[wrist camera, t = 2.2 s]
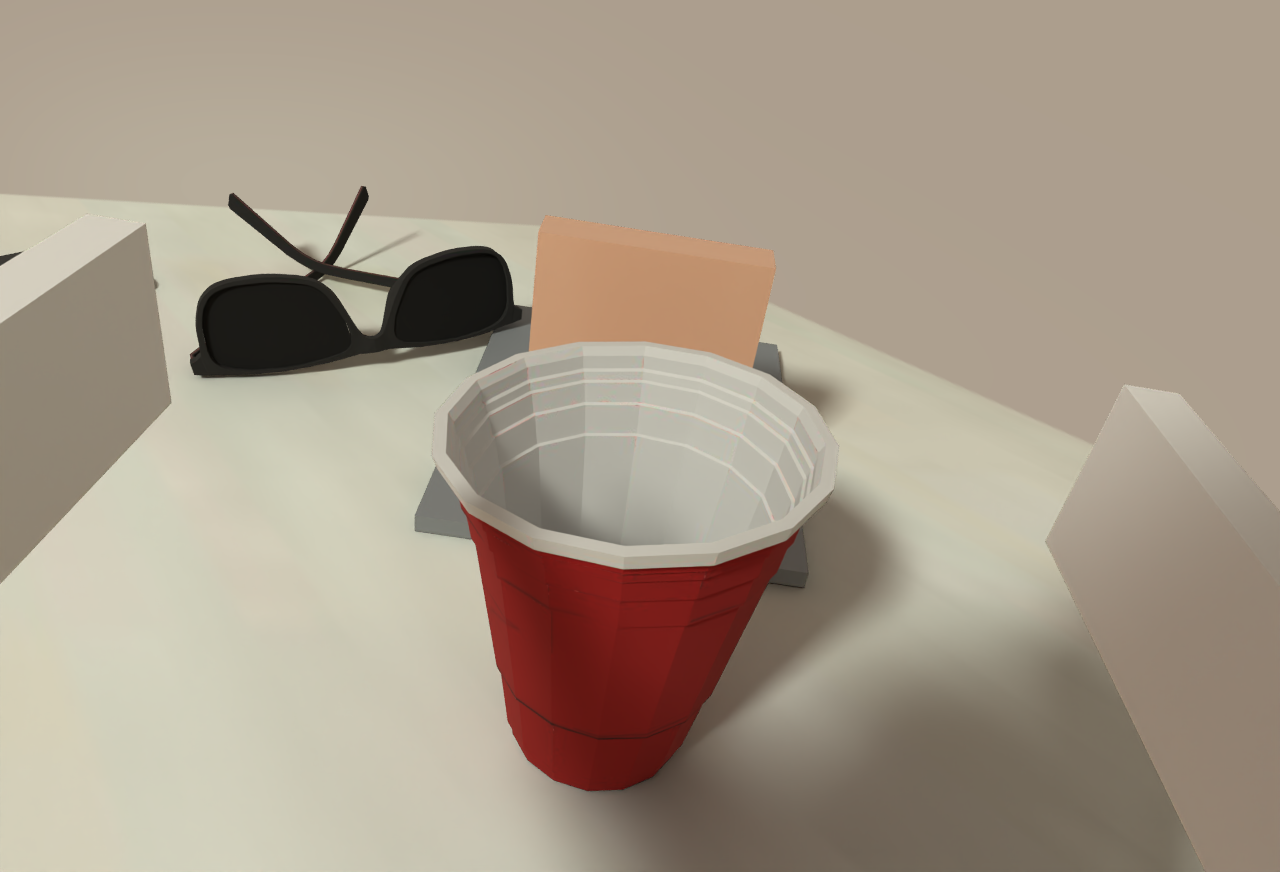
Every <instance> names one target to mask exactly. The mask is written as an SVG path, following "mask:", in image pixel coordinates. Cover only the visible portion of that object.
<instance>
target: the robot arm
mask: <svg viewBox="0 0 1280 872" xmlns="http://www.w3.org/2000/svg"><path fill="white" fill-rule="evenodd" d="M170 404H171V396H170V389H169V382H168V375H167V368H166V361H165V354H164V347H163V340H162V333H161V326H160V319H159V312H158V305H157V298H156V291H155V284H154V277H153V271H152V264H151V257H150V250H149V243H148V236H147V229H146V223H141V222H135V221H129V220H123V219H116V218H110V217H104V216H98V215H92V214H85V215H83V216H82V217H80V218H78V219H77V220H75V221H73V222H72V223H70V224H68V225H67V226H65V227H63V228H62V229H60V230H59V231H57V232H55V233H54V234H52V235H50V236H49V237H47V238H45V239H44V240H42V241H40V242H39V243H37V244H35V245H34V246H32V247H31V248H29V249H27V250H26V251H24V252H22V253H21V254H19V255H17V256H16V257H14V258H12V259H11V260H9V261H7V262H6V263H4V264H3V265H1V266H0V584H1V583H2V582H3V581H4V579H5V578H6V577H7V576H8V575H9V574H10V573H11V572H12V571H13V570H14V569H15V568H16V567H17V566H18V565H19V564H20V563H21V561H22V560H23V559H24V558H25V557H26V556H27V555H28V554H29V553H30V552H31V551H32V550H33V549H34V548H35V547H36V546H37V545H38V543H39V542H40V541H41V540H42V539H43V538H44V537H45V536H46V535H47V534H48V533H49V532H50V531H51V530H52V529H53V528H54V527H55V526H56V524H57V523H58V522H59V521H60V520H61V519H62V518H63V517H64V516H65V515H66V514H67V513H68V512H69V511H70V510H71V509H72V508H73V506H74V505H75V504H76V503H77V502H78V501H79V500H80V499H81V498H82V497H83V496H84V495H85V494H86V493H87V492H88V491H89V490H90V488H91V487H92V486H93V485H94V484H95V483H96V482H97V481H98V480H99V479H100V478H101V477H102V476H103V475H104V474H105V473H106V472H107V470H108V469H109V468H110V467H111V466H112V465H113V464H114V463H115V462H116V461H117V460H118V459H119V458H120V457H121V456H122V455H123V454H124V452H125V451H126V450H127V449H128V448H129V447H130V446H131V445H132V444H133V443H134V442H135V441H136V440H137V439H138V438H139V437H140V436H141V435H142V433H143V432H144V431H145V430H146V429H147V428H148V427H149V426H150V425H151V424H152V423H153V422H154V421H155V420H156V419H157V418H158V417H159V415H160V414H161V413H162V412H163V411H164V410H165V409H166V408H167V407H168V406H169V405H170ZM1045 542H1046V544H1047V546H1048V548H1049V550H1050V552H1051V554H1052V556H1053V558H1054V560H1055V563H1056V565H1057V567H1058V569H1059V571H1060V573H1061V575H1062V577H1063V579H1064V581H1065V583H1066V585H1067V587H1068V589H1069V591H1070V593H1071V596H1072V598H1073V600H1074V602H1075V604H1076V606H1077V608H1078V610H1079V612H1080V614H1081V616H1082V618H1083V620H1084V622H1085V624H1086V627H1087V629H1088V631H1089V633H1090V635H1091V637H1092V639H1093V641H1094V643H1095V645H1096V647H1097V649H1098V651H1099V653H1100V655H1101V658H1102V660H1103V662H1104V664H1105V666H1106V668H1107V670H1108V672H1109V674H1110V676H1111V678H1112V680H1113V682H1114V684H1115V686H1116V689H1117V691H1118V693H1119V695H1120V697H1121V699H1122V701H1123V703H1124V705H1125V707H1126V709H1127V711H1128V713H1129V715H1130V717H1131V720H1132V722H1133V724H1134V726H1135V728H1136V730H1137V732H1138V734H1139V736H1140V738H1141V740H1142V742H1143V744H1144V746H1145V748H1146V751H1147V753H1148V755H1149V757H1150V759H1151V761H1152V763H1153V765H1154V767H1155V769H1156V771H1157V773H1158V775H1159V777H1160V779H1161V782H1162V784H1163V786H1164V788H1165V790H1166V792H1167V794H1168V796H1169V798H1170V800H1171V802H1172V804H1173V806H1174V808H1175V810H1176V813H1177V815H1178V817H1179V819H1180V821H1181V823H1182V825H1183V827H1184V829H1185V831H1186V833H1187V835H1188V837H1189V839H1190V841H1191V843H1192V846H1193V848H1194V850H1195V852H1196V854H1197V856H1198V858H1199V860H1200V862H1201V864H1202V866H1203V868H1204V870H1205V872H1280V511H1279V510H1278V509H1277V507H1276V506H1275V505H1274V504H1273V503H1272V502H1271V500H1270V499H1269V498H1268V497H1267V496H1266V495H1265V494H1264V492H1263V491H1262V490H1261V489H1260V488H1259V486H1257V484H1256V483H1255V482H1254V481H1253V480H1252V478H1251V477H1250V476H1249V475H1248V474H1247V472H1246V471H1245V470H1244V469H1243V468H1242V466H1241V465H1240V464H1239V463H1238V462H1237V461H1236V460H1235V458H1234V457H1233V456H1232V455H1231V454H1230V452H1229V451H1228V450H1227V449H1226V448H1225V447H1224V445H1223V444H1222V443H1221V442H1220V441H1219V440H1218V438H1217V437H1216V436H1215V435H1214V434H1213V433H1212V431H1211V430H1210V429H1209V428H1208V427H1207V426H1206V424H1205V423H1204V422H1203V421H1202V420H1201V419H1200V417H1199V416H1198V415H1197V414H1196V413H1195V412H1194V410H1193V409H1192V408H1191V407H1190V406H1189V405H1188V403H1187V402H1186V401H1185V400H1184V399H1183V397H1182V396H1181V395H1180V394H1178V393H1172V392H1166V391H1160V390H1154V389H1148V388H1142V387H1136V386H1129V385H1124V387H1123V388H1122V390H1121V392H1120V394H1119V396H1118V398H1117V400H1116V402H1115V404H1114V406H1113V408H1112V410H1111V412H1110V414H1109V416H1108V418H1107V420H1106V422H1105V424H1104V426H1103V428H1102V430H1101V432H1100V434H1099V436H1098V438H1097V440H1096V442H1095V444H1094V446H1093V448H1092V450H1091V452H1090V454H1089V456H1088V458H1087V460H1086V462H1085V463H1084V465H1083V467H1082V469H1081V471H1080V473H1079V475H1078V477H1077V479H1076V481H1075V483H1074V485H1073V487H1072V489H1071V491H1070V493H1069V495H1068V497H1067V499H1066V501H1065V503H1064V505H1063V507H1062V509H1061V511H1060V513H1059V515H1058V517H1057V519H1056V521H1055V523H1054V525H1053V527H1052V529H1051V531H1050V533H1049V535H1048V537H1047V539H1046V541H1045Z"/></svg>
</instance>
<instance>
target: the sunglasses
mask: <svg viewBox="0 0 1280 872" xmlns="http://www.w3.org/2000/svg"><path fill="white" fill-rule="evenodd" d="M368 197H369V196H368V193H367V189H366V187H364V186H361V188H360V190H359V192H358V194H357V196H356V198H355V201H354V203H353V205H352V207H351V209H350V211H349V213H348V215H347V218H346V220H345V222H344V224H343V226H342V228H341V230H340V233H339V235H338V237H337V239H336V241H335V243H334V245H333V247H332V249H331V250H330V252H329V254H328V255H327V257H326V258H325V259H324V261H323V262H320V261H317V260H315V259H313V258H311V257H309V256H307V255H306V254H304V253H302V252H301V251H300V250H298V249H297V248H296V247H294V246H293V245H292V244H290V243H289V242H288V241H287V240H286V239H285V238H284V237H282V236H281V235H280V234H279V233H278V232H277V231H276V230H275V229H273V228H272V227H271V226H270V225H269V224H268V223H267V222H266V221H264V220H263V219H262V218H261V217H260V216H259V215H258V214H257V213H255V212H254V211H253V210H252V209H251V208H250V207H248V205H246V204H245V203H244V202H243V201H242V200H241V199H240V198H239V197H237V196H236V195H235V194H234V193H232V194H230V195H229V204H228V206H229V208H230V209H231V210H232V211H233V212H235V213H236V214H237V215H238V216H240V217H241V218H242V219H243V220H245V221H246V222H247V223H248V224H250V225H251V226H252V227H253V228H254V229H256V230H257V231H258V232H259V233H261V234H262V235H263V236H264V237H266V238H267V239H268V240H269V241H271V242H272V243H273V244H274V245H276V246H277V247H278V248H279V249H280V250H282V251H283V252H284V253H285V254H287V255H288V256H290V257H291V258H293V259H294V260H296V261H297V262H299V263H300V264H302V265H304V266H306V267H308V268H310V269H311V270H313V271H311V272H310V273H309V274H307V275H306V276H299V275H287V274H256V275H248V276H241V277H234V278H229V279H225V280H222V281H219V282H216V283H214V284H212V285H211V286H209V287H208V288H207V289H206V290H205V291H204V292H203V294H202V295H201V297H200V299H199V301H198V305H197V311H196V332H197V337H198V342H199V348H197V349H196V350H195V351H194V352H192V353H191V354H190V357H191V359H190V364H191V367H192V370H193V373H194V375H246V374H262V373H272V372H282V371H288V370H294V369H300V368H306V367H311V366H316V365H320V364H325V363H330V362H333V361H337V360H340V359H344V358H347V357H351V356H354V355H358V354H364V353H374V352H379V351H383V350H387V349H393V348H410V347H423V346H430V345H436V344H443V343H448V342H454V341H459V340H463V339H466V338H470V337H474V336H478V335H481V334H484V333H487V332H490V331H492V330H495V329H498V328H500V327H503V326H506V325H508V324H511V323H514V322H516V321H519V320H521V319H522V309H521V308H519V307H518V306H515V305H514V301H513V286H512V279H511V275H510V272H509V269H508V266H507V263H506V261H505V260H504V258H503V257H502V256H501V255H500V254H498V253H497V252H495V251H494V250H493V249H491V248H489V247H484V246H470V247H461V248H454V249H449V250H446V251H442V252H439V253H436V254H434V255H431V256H428V257H425V258H423V259H421V260H419V261H416V262H415V263H413V264H412V265H410V266H409V267H408V268H407V269H406V270H405V271H404V273H403V274H402V275H401V276H400V277H399V278H396V277H391V276H385V275H379V274H374V273H368V272H363V271H357V270H352V269H346V268H342V267H338V266H334V265H333V264H334V263H335V261H336V260H337V258H338V257H339V255H340V254H341V252H342V250H343V248H344V246H345V244H346V242H347V240H348V238H349V236H350V234H351V232H352V230H353V228H354V227H355V225H356V223H357V221H358V219H359V217H360V215H361V213H362V211H363V209H364V207H365V205H366V203H367V201H368ZM324 274H328V275H332V276H336V277H341V278H345V279H351V280H356V281H361V282H367V283H372V284H377V285H382V286H387V287H391V288H390V291H389V293H388V296H387V301H386V306H385V312H384V318H383V323H382V327H381V330H380V332H379V333H378V334H376V335H375V336H366V335H363V334H362V333H361V332H360V331H359V330H358V329H357V327H356V326H355V324H354V322H353V321H352V319H351V318H350V316H349V315H348V313H347V311H346V310H345V308H344V306H343V305H342V303H341V302H340V300H339V299H338V298H337V296H336V295H335V294H334V292H333V291H332V290H331V289H330V288H328V287H327V286H326V285H324V284H323V283H321V282H319V281H317V280H318V279H320V278H321V277H322V276H323V275H324ZM346 323H347V324H346ZM347 326H348V327H347ZM202 329H203V330H202ZM348 329H349V330H348ZM349 332H350V333H349ZM203 334H204V335H203ZM204 338H205V339H204Z"/></svg>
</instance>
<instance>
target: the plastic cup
mask: <svg viewBox="0 0 1280 872" xmlns="http://www.w3.org/2000/svg"><path fill="white" fill-rule="evenodd" d="M838 453H839V444H838V443H837V441H836V439H835V438H834V436H833V435H832V433H831V431H830V430H829V428H828V426H827V425H826V423H825V422H824V420H823V418H822V417H821V415H820V413H819V412H818V410H817V408H816V407H815V406H814V405H813V404H811V403H810V402H808V401H807V400H805V399H804V398H803V397H801V396H800V395H798V394H797V393H795V392H794V391H793V390H791V389H790V388H788V387H787V386H786V385H784V384H783V383H781V382H780V381H778V380H777V379H776V378H774V377H773V376H771V375H770V374H767V373H764V372H762V371H759V370H756V369H754V368H751V367H748V366H746V365H743V364H740V363H738V362H735V361H732V360H730V359H727V358H724V357H722V356H719V355H716V354H714V353H711V352H705V351H699V350H693V349H687V348H681V347H675V346H669V345H663V344H657V343H652V342H646V341H641V342H575V343H570V344H565V345H560V346H555V347H550V348H545V349H539V350H534V351H529V352H524V353H519V354H516V355H514V356H511V357H509V358H507V359H505V360H503V361H501V362H499V363H497V364H494V365H492V366H490V367H488V368H486V369H484V370H482V371H480V372H477V373H475V374H473V375H471V376H469V377H467V378H466V379H465V380H464V381H463V382H462V383H461V384H460V385H459V386H458V387H457V389H456V390H455V391H454V392H453V393H452V394H451V395H450V396H449V397H448V398H447V400H446V401H445V402H444V403H443V404H442V405H441V406H440V407H439V408H438V410H437V411H436V412H435V415H434V429H433V442H432V458H433V460H434V463H435V465H436V467H437V469H438V471H439V472H440V473H441V475H442V476H443V478H444V479H445V480H446V482H447V483H448V485H449V486H450V488H451V489H452V490H453V492H454V493H455V495H456V496H457V497H458V499H459V501H460V505H461V509H462V511H463V512H464V514H465V515H466V517H467V521H468V526H469V531H470V535H471V539H472V540H473V542H474V543H475V545H476V550H477V555H478V561H479V567H480V573H481V578H482V584H483V590H484V595H485V601H486V607H487V613H488V618H489V624H490V630H491V636H492V641H493V647H494V653H495V659H496V664H497V667H498V669H499V671H500V673H501V676H502V683H503V690H504V697H505V705H506V712H507V719H508V723H509V724H510V726H511V728H512V731H513V735H514V737H515V738H516V740H517V742H518V744H519V746H520V747H521V749H522V751H523V753H524V755H525V757H526V758H527V760H528V761H529V762H531V763H532V764H533V765H535V766H536V767H537V768H538V769H540V770H541V771H542V772H544V773H545V774H546V775H547V776H549V777H550V778H551V779H553V780H554V781H557V782H561V783H564V784H567V785H570V786H573V787H577V788H580V789H583V790H586V791H599V790H623V789H625V788H628V787H630V786H632V785H635V784H637V783H639V782H642V781H644V780H646V779H649V778H651V777H653V776H654V775H655V774H656V773H657V772H658V771H659V769H660V768H661V767H662V766H663V765H664V764H665V763H666V762H667V761H668V760H669V759H670V757H671V756H672V755H673V754H674V753H675V752H676V750H677V749H678V748H679V747H680V746H681V745H682V743H683V741H684V739H685V737H686V736H687V734H688V732H689V730H690V728H691V726H692V724H693V722H694V720H695V718H696V716H697V714H698V712H699V710H700V708H701V706H702V704H703V703H704V702H705V701H706V700H707V699H708V698H709V697H710V696H711V694H712V692H713V690H714V688H715V686H716V684H717V682H718V680H719V679H720V677H721V675H722V673H723V671H724V669H725V667H726V665H727V663H728V661H729V659H730V657H731V655H732V653H733V651H734V649H735V647H736V645H737V643H738V641H739V639H740V637H741V635H742V633H743V631H744V629H745V627H746V625H747V623H748V622H749V620H750V618H751V616H752V614H753V612H754V610H755V608H756V606H757V604H758V602H759V600H760V598H761V596H762V594H763V592H764V590H765V588H766V586H767V584H768V582H769V580H770V579H771V578H772V577H773V576H774V575H775V574H776V573H777V571H778V569H779V567H780V564H781V562H782V560H783V558H784V555H785V553H786V551H787V549H788V548H789V547H790V546H791V545H792V544H793V543H794V541H795V539H796V536H797V534H798V532H799V529H800V527H801V526H802V525H803V524H804V523H805V522H806V521H807V520H808V519H809V518H810V517H811V516H812V515H814V514H815V513H816V512H817V511H818V510H819V509H820V508H821V507H822V506H823V505H824V504H825V503H826V502H827V500H828V498H829V496H830V495H831V493H832V491H833V490H834V485H835V477H836V469H837V461H838Z"/></svg>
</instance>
